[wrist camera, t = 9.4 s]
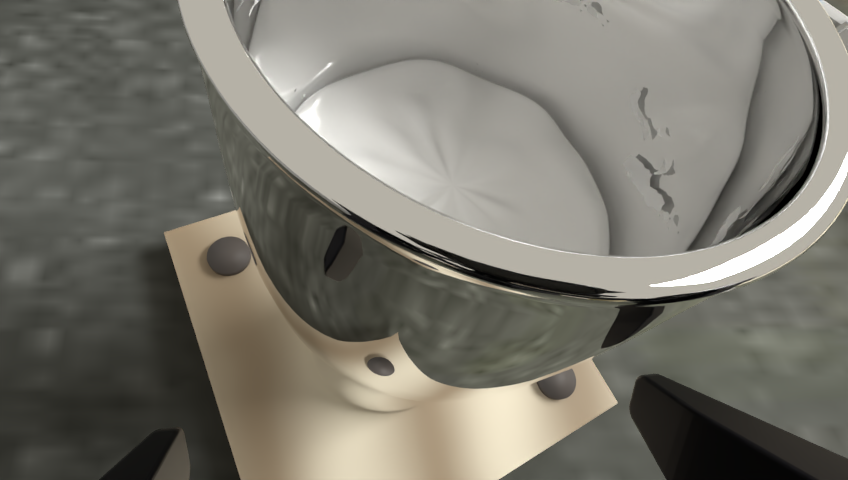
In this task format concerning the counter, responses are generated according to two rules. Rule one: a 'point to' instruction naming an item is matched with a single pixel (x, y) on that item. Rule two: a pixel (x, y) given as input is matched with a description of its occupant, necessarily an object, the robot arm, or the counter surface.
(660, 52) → the metal tumbler
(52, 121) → the counter surface
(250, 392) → the bolt plate
